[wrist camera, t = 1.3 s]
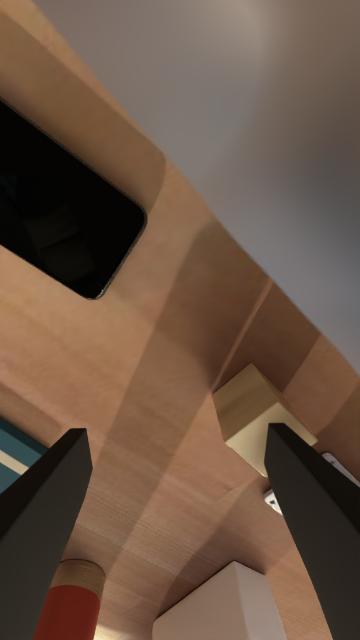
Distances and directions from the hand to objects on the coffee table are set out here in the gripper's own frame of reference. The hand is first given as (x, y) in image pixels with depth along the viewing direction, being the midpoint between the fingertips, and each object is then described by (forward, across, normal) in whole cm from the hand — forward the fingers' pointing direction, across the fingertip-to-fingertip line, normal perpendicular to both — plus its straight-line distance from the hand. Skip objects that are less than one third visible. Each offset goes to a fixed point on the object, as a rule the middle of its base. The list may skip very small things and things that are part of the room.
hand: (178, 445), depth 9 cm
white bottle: (+6, -8, +28) cm, 30 cm away
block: (+9, -6, +4) cm, 12 cm away
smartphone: (+9, +10, -11) cm, 17 cm away
